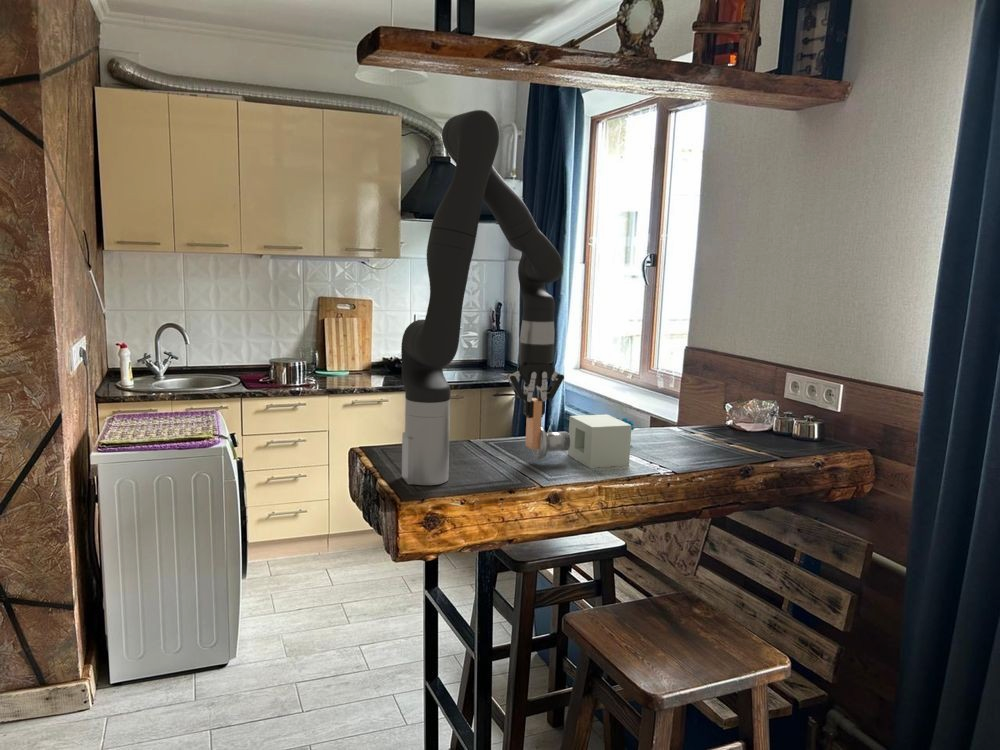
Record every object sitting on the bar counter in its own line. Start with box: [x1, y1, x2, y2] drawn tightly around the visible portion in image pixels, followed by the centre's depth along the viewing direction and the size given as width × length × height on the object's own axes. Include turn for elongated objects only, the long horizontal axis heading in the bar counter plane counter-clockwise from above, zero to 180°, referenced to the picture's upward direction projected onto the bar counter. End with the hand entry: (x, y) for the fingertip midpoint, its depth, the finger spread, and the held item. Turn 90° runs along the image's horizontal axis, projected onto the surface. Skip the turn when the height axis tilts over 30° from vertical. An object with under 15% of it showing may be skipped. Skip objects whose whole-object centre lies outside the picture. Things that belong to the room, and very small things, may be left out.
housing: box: [567, 413, 632, 469], centre depth 174 cm, size 10×12×10 cm
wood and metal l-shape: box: [524, 397, 570, 460], centre depth 169 cm, size 9×8×14 cm
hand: (534, 416), depth 167 cm, fingers closed on wood and metal l-shape, 2 cm apart
